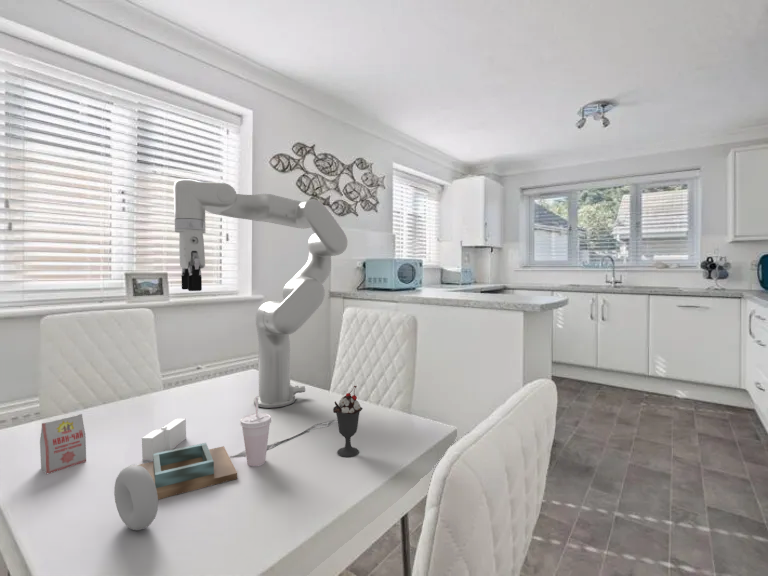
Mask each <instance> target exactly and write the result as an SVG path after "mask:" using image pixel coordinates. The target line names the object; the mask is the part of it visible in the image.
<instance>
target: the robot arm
mask: <svg viewBox="0 0 768 576" xmlns="http://www.w3.org/2000/svg"><path fill="white" fill-rule="evenodd" d="M173 198H174V199H173V203H174V204H173V205H174V210H173V211H174V232H175V233H178V235H179V240H178V241H179V246H178V247H179V249H178V250H179V254H178V255H179V266H180V268H181V274H180V276H181V289H182V290H187V291H189V292H200V291H201V292H202V291H203V289H202V285H203V284H202V278H203V277H202V271H201V270H202V269H205V267H206V256H205V255H206V254H205V242H204V241H205V240H204V234H206V212H207V213H211V214H214V215H218V216H223V217H228V218H233V219H239V220H240V219H241V220H248V221H249V220H250V221H255V222H262V223H269V224H275V225H280V226H284V227H285V226H286V227H290V228H294V229H301V230H302V229H303V230H304V229H310V228H311V229H312V231H313V233H312V234H311V235H310V237H309V238H308V240H307V241H308V242H307V248H308V257H307V261H306V263H305V264H304V265H303V266H302V267H301V268H300V270H299V271H297V272H296V274H294V276H293V277H291V279H289V280H288V281H287V282H286V284H285V285H284V287H283V289H282V290H281V291H282V293H281V295H282V298H283V301H278V300H268V301H266V302H263V303H262V304H261V305H260V306H259V307H258V309H257V311H256V314H255V326H256V333H257V343H258V347H257V349H258V354H257V355H258V395H257V396H256V397H258V408H265V409H272V408H273V409H274V408H276V409H277V408H282V407H286V406H289V405H291V404H293V403H294V402H295V401H296V394H300V393H301V394H302V393H305V392H306V387H305V385H303V386H299V385H294V386H293V385H291V341H290V335H293V334H294V333H296V332H297V331H299V329H301V328H302V327H303V325H305V323H306V322H307V321H308V320H309V319H310V318H311V317H312V316H313V314H315V312H316V311H317V310H319V308H320V307H321V306H322V304H323V301H324V299H325V295H326V290H325V286H324V285H323V284H324V283H325V282H326V280H327V279H328V278H329V277H330V275H331V274H330V273H331V271H332V257H336V256H339V255H341V254H344V253H345V251H346V249H347V248H348V238H347V235H346V233H345V231H344V230H343V228H342V227H341V225H340V224H339V223H338V221H337V220H336V219H335V217H334V216H333V214H332V212H330V210H329V209H328V208H327V207H326V206H325V205H324V204H323V203H322V202H321V201H319V200H317V199H314V198H311V199H307V200H304V201H300V200H296V199H292V198H288V197H283V196H279V195H275V194H271V193H258V194H257V193H256V194H243V193H242V194H241V193H237V192H236V190H235V187H233V186H232V185H231V184H228V183H226V182H220V181H216V182H214V181H211V182H210V181H208V182H207V181H198V180H194V179H188V178H187V179H182V178H181V179H178V180H176V181H175V182H174V184H173ZM253 404H254V405H255V406H256V401H255V397H254V398H253Z"/></svg>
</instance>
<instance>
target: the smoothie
mask: <svg viewBox="0 0 768 576" xmlns="http://www.w3.org/2000/svg"><path fill="white" fill-rule="evenodd" d="M254 398H255V401H256V405H255V412H254V413H250V414H246V415H244V416H243V417H241V419H240V420H239V421H240V423H239V425H240V427H241V429H242V436H243V442H244V451H245V450H246V456H245V457H246V463H247V466H249V467H260V466H262V465H264V464H265V463H266V461H267V460H266V459H267V451H268V450H267V445H268V440H269V434H270V424H271V423H272V416H271V415H270V414H268V413H266V412H259V407H258V397H257V396H255V397H254Z"/></svg>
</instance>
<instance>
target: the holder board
mask: <svg viewBox="0 0 768 576" xmlns="http://www.w3.org/2000/svg"><path fill="white" fill-rule="evenodd" d="M138 465H139V466H142V467H144V468H145V469H146V470H147V471H148V472H149V474H150V475H151V477H152V478H153V481H154V483H155V486H156V490H157V495H158V500H161V499H165V498H166V499H167V498H169V497H174V496H177V495H180V494H184V493H188V492H192V491H196V490H200V489H203V488H208V487H211V485H212V486H216V485H218V484H223V483H227V482H231V481H233V480H237V479H238V471H237V469H236V467H235V466H234V463H233V462H232V460H231V457H230V455H229V454H228V451H227V450H226V448H225V446H224V445H223V446H218V447H214V448H209V447H208V444H207V442H204V443H203V442H202V443H198V444H194V445H188V446H183V447H177V448H173V449H172V450H168V451H164V452H159V453H154V454H153V460H152V461H150V462H145V463H139V464H138ZM230 480H231V481H230ZM215 484H216V485H215ZM207 486H208V487H207Z"/></svg>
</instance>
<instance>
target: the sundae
mask: <svg viewBox="0 0 768 576" xmlns="http://www.w3.org/2000/svg"><path fill="white" fill-rule="evenodd" d="M357 387H358V386H357V385H354V386H353V388H352V389H351V390H350V392H347V393H346V394H345V395H344V396H342V397H341V398H340V400H339V402H337V401H334V405H335V406H334V407H333V408H332V411H333V413H334V414H335V415H336V420H337V427H338V432H339V434H340V435H341V436H342V437H344V439H345V441H344V442H345V444H344V446H343V447H340V448H339V449H338V450H337V452H336V454H337V455H338V456H340V457H343V458H351V457H355V456H357V455H358V454H359V453H360V450H359V449H358V448H357V447H354V446H352V443H351V440H352V439H351V438H352V437H353V436H354V435H356V433H357V431H358V426H359V417H360V412H361V411H362V410H363V407H362V406H361V404H360V403H359V401H358V400H357V399H358V397H357V395H356V394H355V390H356V388H357ZM352 391H353V395H352V394H351V392H352Z"/></svg>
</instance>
